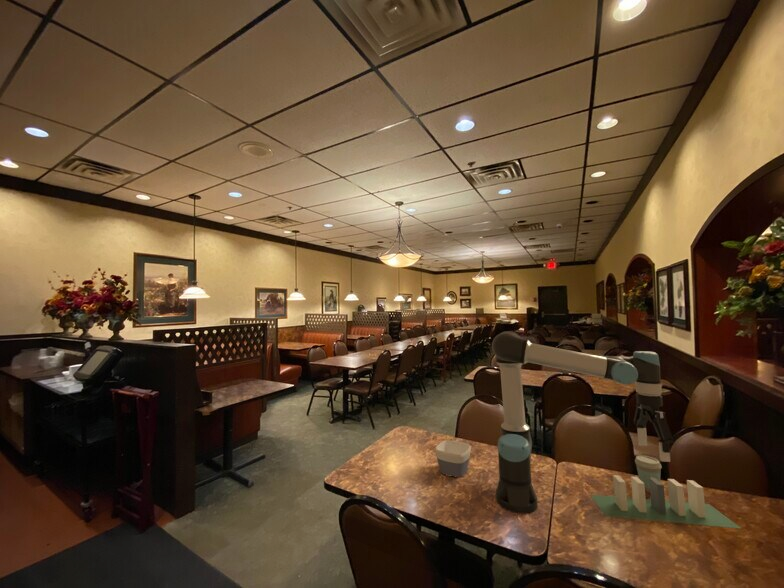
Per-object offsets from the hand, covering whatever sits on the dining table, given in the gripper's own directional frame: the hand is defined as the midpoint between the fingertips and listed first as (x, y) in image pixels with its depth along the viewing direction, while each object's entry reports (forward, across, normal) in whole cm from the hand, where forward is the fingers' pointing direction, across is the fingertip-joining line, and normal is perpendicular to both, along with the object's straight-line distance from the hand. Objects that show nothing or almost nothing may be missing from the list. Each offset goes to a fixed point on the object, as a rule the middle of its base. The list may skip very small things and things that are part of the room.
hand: (653, 452), depth 117 cm
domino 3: (+20, 0, -6) cm, 21 cm away
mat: (+20, 0, 0) cm, 20 cm away
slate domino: (+20, 0, 0) cm, 20 cm away
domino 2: (+20, 0, +6) cm, 21 cm away
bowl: (+21, +19, +73) cm, 78 cm away
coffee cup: (+20, +15, -5) cm, 26 cm away
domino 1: (+20, 0, +12) cm, 23 cm away
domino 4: (+20, 0, -12) cm, 23 cm away
